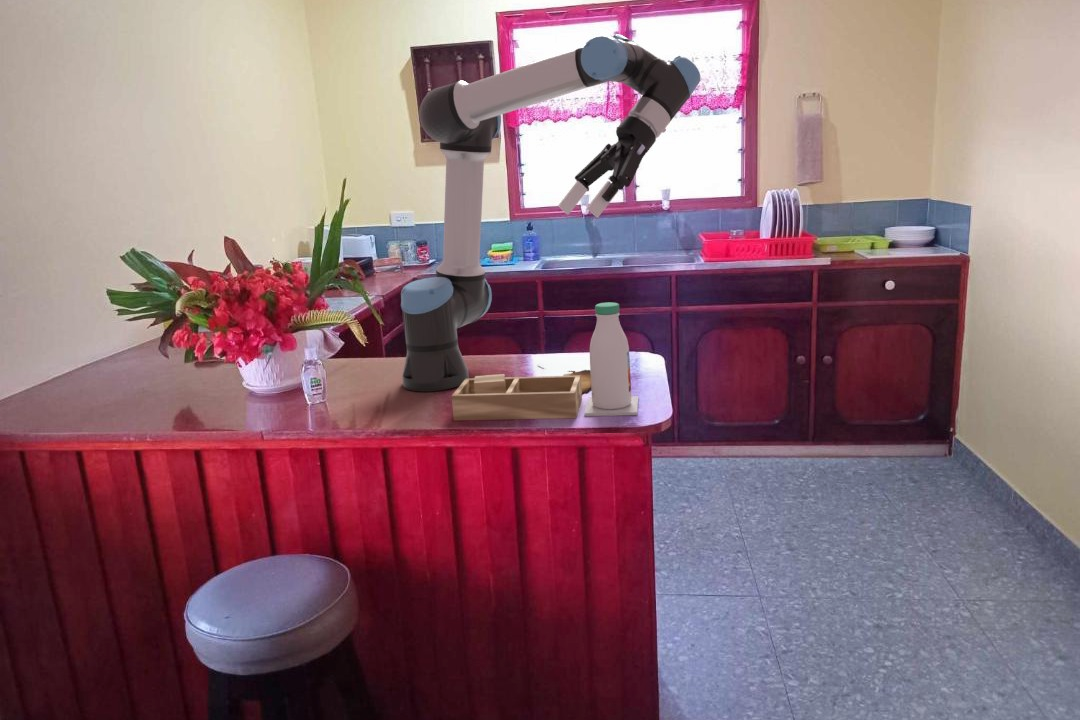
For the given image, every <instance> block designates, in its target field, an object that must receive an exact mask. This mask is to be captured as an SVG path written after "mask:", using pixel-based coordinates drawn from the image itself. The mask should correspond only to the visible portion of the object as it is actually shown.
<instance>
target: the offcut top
mask: <svg viewBox="0 0 1080 720" xmlns="http://www.w3.org/2000/svg"><path fill="white" fill-rule="evenodd" d="M474 378H475V379H474V390H475V394H491V393H506V385H505V378H506V375H505V373H502V374H501V373H500V374H488V375H487V374H486V375H475V376H474Z"/></svg>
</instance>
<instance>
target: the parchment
mask: <svg viewBox="0 0 1080 720" xmlns="http://www.w3.org/2000/svg"><path fill="white" fill-rule="evenodd" d="M568 372H569V373H568ZM577 375H581V391H582V396H584V395H585V394H587V393H588V392H589V389H591V373H590V369H583V370H580V371H579V370H578V371H576V370H568V371H567V373H565V374H564V373H563V375H562V376H577Z"/></svg>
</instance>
